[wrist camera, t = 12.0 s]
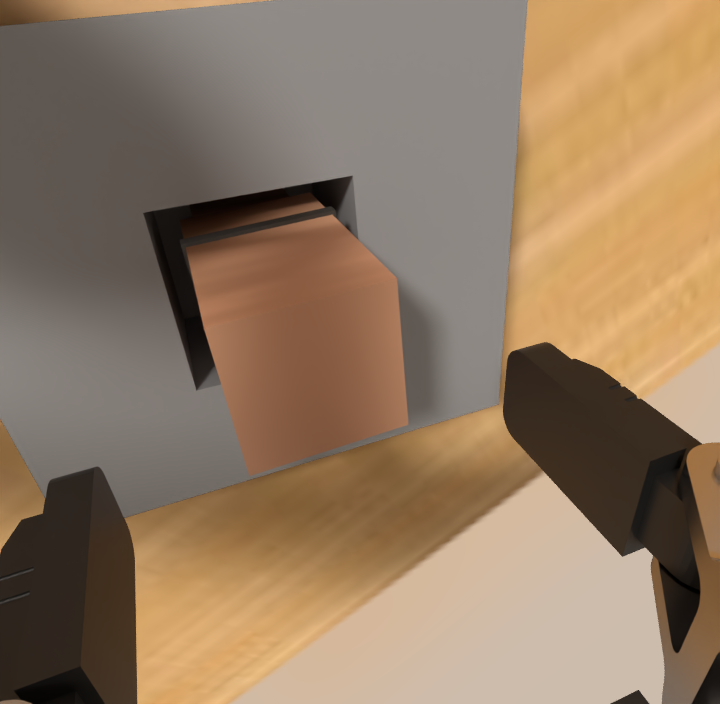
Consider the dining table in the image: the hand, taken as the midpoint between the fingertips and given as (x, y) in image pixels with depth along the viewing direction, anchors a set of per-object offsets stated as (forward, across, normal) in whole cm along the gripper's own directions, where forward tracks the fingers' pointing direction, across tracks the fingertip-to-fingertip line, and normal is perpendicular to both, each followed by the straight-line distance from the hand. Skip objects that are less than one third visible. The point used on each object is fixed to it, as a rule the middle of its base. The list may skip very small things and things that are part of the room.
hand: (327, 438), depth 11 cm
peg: (+12, 0, 0) cm, 12 cm away
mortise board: (+13, 0, 0) cm, 13 cm away
